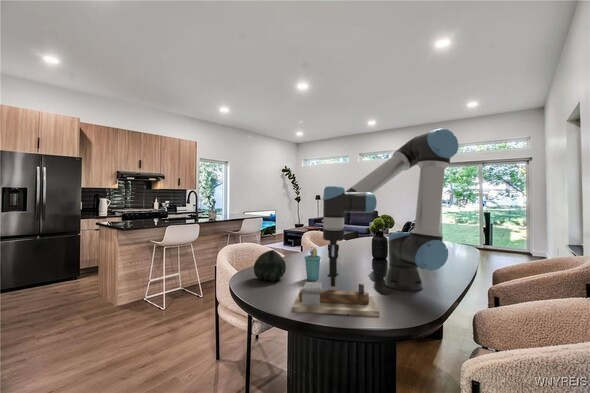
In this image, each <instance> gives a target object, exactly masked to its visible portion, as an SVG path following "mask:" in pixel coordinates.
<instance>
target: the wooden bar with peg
mask: <svg viewBox="0 0 590 393" xmlns="http://www.w3.org/2000/svg"><path fill="white" fill-rule="evenodd" d="M302 290H303V288H300V290H299V292H298V294H299V301H302ZM369 297H370V293H369V292H368V291H365V284H364V283H358V290H339V289H337V290H329V289H321V292H320V300H321V302H329V303H350V304H360V305H366V304H368V303H369Z"/></svg>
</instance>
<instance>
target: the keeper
mask: <svg viewBox="0 0 590 393" xmlns="http://www.w3.org/2000/svg"><path fill="white" fill-rule="evenodd" d="M322 287H323V286H322V282H316V281H315V282H314V281H305V283H304V285H303V287H302V289H303V290H302V306H320V303H321V300H320V292H321V290H322Z"/></svg>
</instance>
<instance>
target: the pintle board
mask: <svg viewBox="0 0 590 393" xmlns="http://www.w3.org/2000/svg"><path fill="white" fill-rule="evenodd" d="M292 312H294V313H296V312H298V313H313V314H314V313H316V314H330V315H331V314H333V315H347V314H349V315H350V316H364V317H365V316H367V317H368V316H369V317H380V309H379V306H378V304H377V302H376V299H375V297H374V296H369V303H368V304H366V305H360V304H350V303H329V302H321V303H320V306H302V301H299V293H298V294H297V296H296V299H295V301H294V303H293V305H292ZM349 315H348V316H349Z"/></svg>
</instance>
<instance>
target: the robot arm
mask: <svg viewBox="0 0 590 393" xmlns="http://www.w3.org/2000/svg"><path fill="white" fill-rule="evenodd" d="M458 150H459V140H458V138H457V136H456V135H455V134H454V132H452V131H451V130H449V129H446V128H438V129H432V130H430V131H429V132H426V133H423V134H421V135H417V136H415V137H413V138H411V139H410V140H408V141H407V142H406V143H405V144H403V145H402V146H400V147H399V148H398V149H397V150H395V151H394V152H393V153H392V155H391V157H390V158H389V159H387V160H386V161H385V162H383V163H382V164H381V165H379V166H378V167H376V168H375V169H373V171H371V172H370V173H368V174H367V175H366V176H365V177H363V178H362V179H361V180H359V181H357V182H356V183H355V184H354V185H352V186H351V187H350V188H348V189H347V190H345V187H344V186H342V185H341V186H338V185H337V186H335V185H332V186H330V185H329V186H328V185H327V186H325V187H324V189H323V196H322V201H323V204H322V205H323V207H322V208H323V209H322V210H323V219H321V222H322V224H323V225H322V226H323V228H324V229H323V230H322V239H323V240H324V241H329V243H328V245H327V250H328V253H327V254H328V255H327V256H328V258H329V260H328V261H329V262H328V263H329V264H328V266H329V267H328V268H329V273H328V274H327V278H329V279H328V281H329V282H328V290H338V276H339V275H340V274H339V273H338V269H337V268H338V264H337V263H338V260H337V259H339V251H340V250H339V249H340V244H338V242H341V241H344V240H345V231H344V228H345V213H357V214H358V213H360V214H361V213H364V214H366V213H373V212H374V211H375V210H376V208H377V197H376V195H375V194H374V193H375V192H377V191H378V190H380V189H381V188H382V187H384V186H385V185H386V184H388V183H389V182H390V181H391V180H393V179H394V178H395V177H397V176H398V175H399V174H400V173H401V172H404V171H409V170H410V169H411V168H413V167H415V166H418V167H419V169H420V171H419V172H420V173H419V180H418V189H417V190H418V191H417V200H416V211H415V220H414V221H415V222H414V228H413V229H411V230H410V231H409V232H392V233H390V234H389V235H388V242H387V243H388V263H389V264H388V269H387V272H386V275H385V277H384V278H385V279H384V282H385V283H384V285H385V286H387V287H389V288H390V289H393V290H399V291H408V292H409V291H410V292H411V291H413V292H414V291H419V290H423V286H424V285H423V280H422V277H421V274H420V271H419V269H421V270H424V271H425V270H426V271H432V272H433V271H437V270H439V269H441V268H442V267H443V266H444V265H445V264H446V262H447V261H448V259H449V248H448V247H447V245H446V244H445V243H444V242H443V237H444V236H443V234H442V233H441V232H440V223H441V222H440V220H441V212H442V211H441V210H442V203H443V201H442V199H443V192H444V190H443V189H444V180H445V170H446V169H447V168H448V167H449V166H450V164H451V158H453V157H454V156H455V155H456V154H457V153H458ZM418 268H419V269H418Z"/></svg>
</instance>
